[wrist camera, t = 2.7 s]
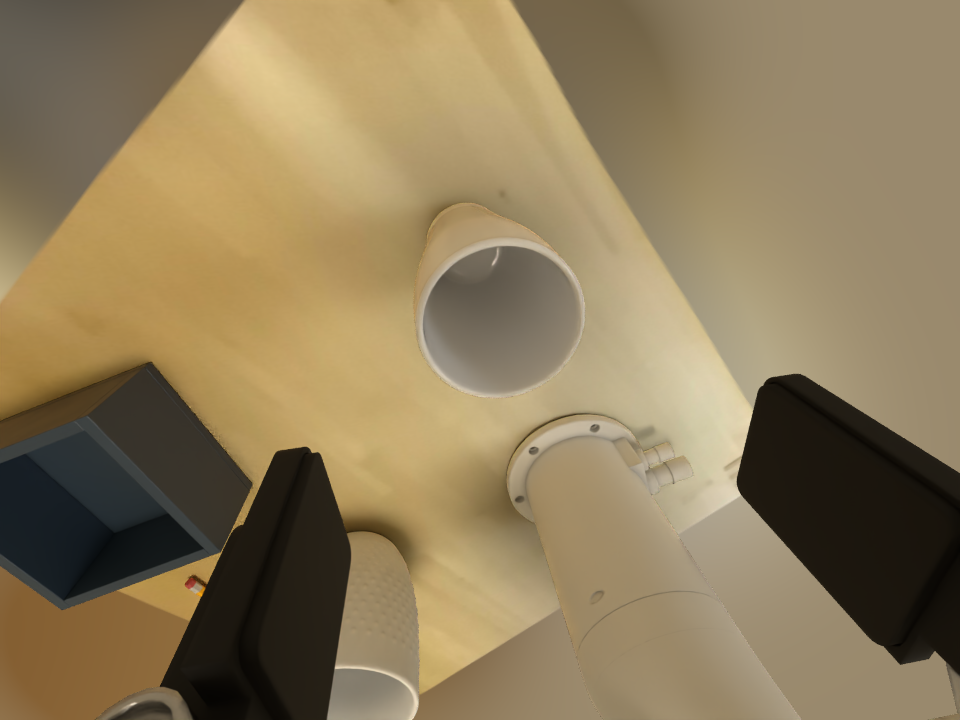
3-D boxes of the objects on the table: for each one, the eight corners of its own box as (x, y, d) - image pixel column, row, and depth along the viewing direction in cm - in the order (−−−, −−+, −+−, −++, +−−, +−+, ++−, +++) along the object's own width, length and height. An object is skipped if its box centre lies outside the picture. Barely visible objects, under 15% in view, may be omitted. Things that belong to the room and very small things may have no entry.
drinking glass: (468, 165, 28) (512, 192, 15) (534, 243, 31) (621, 325, 17) (394, 240, 29) (373, 326, 16) (463, 308, 32) (494, 429, 19)
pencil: (193, 576, 41) (190, 583, 40) (287, 643, 47) (286, 650, 46) (186, 580, 41) (183, 587, 40) (281, 646, 47) (279, 653, 46)
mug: (241, 530, 39) (166, 697, 27) (335, 467, 37) (298, 616, 26) (356, 607, 46) (335, 768, 34) (442, 556, 44) (450, 707, 32)
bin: (150, 361, 31) (86, 415, 25) (253, 484, 37) (221, 552, 31) (-7, 423, 32) (-106, 490, 26) (118, 534, 38) (61, 610, 32)
